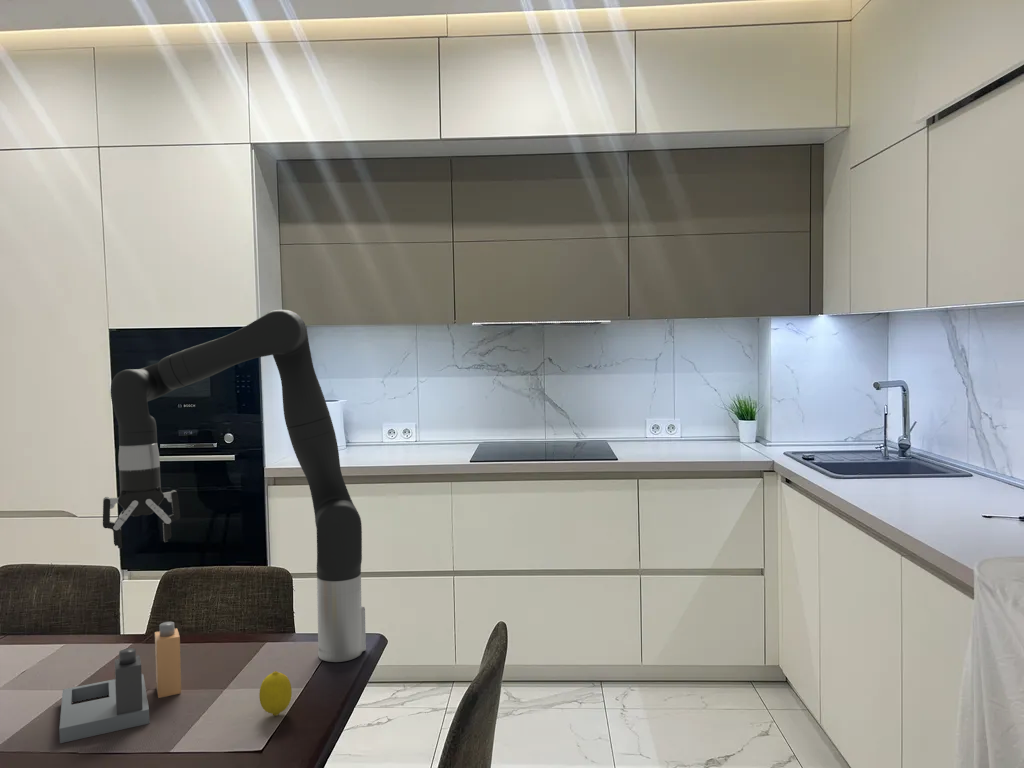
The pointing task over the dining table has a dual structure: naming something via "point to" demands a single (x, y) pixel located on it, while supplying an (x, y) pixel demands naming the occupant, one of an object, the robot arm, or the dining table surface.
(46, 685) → the dining table surface
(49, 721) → the dining table surface
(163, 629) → the plug
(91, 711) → the gray post stand
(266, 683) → the lemon
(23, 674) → the dining table surface
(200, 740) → the dining table surface
